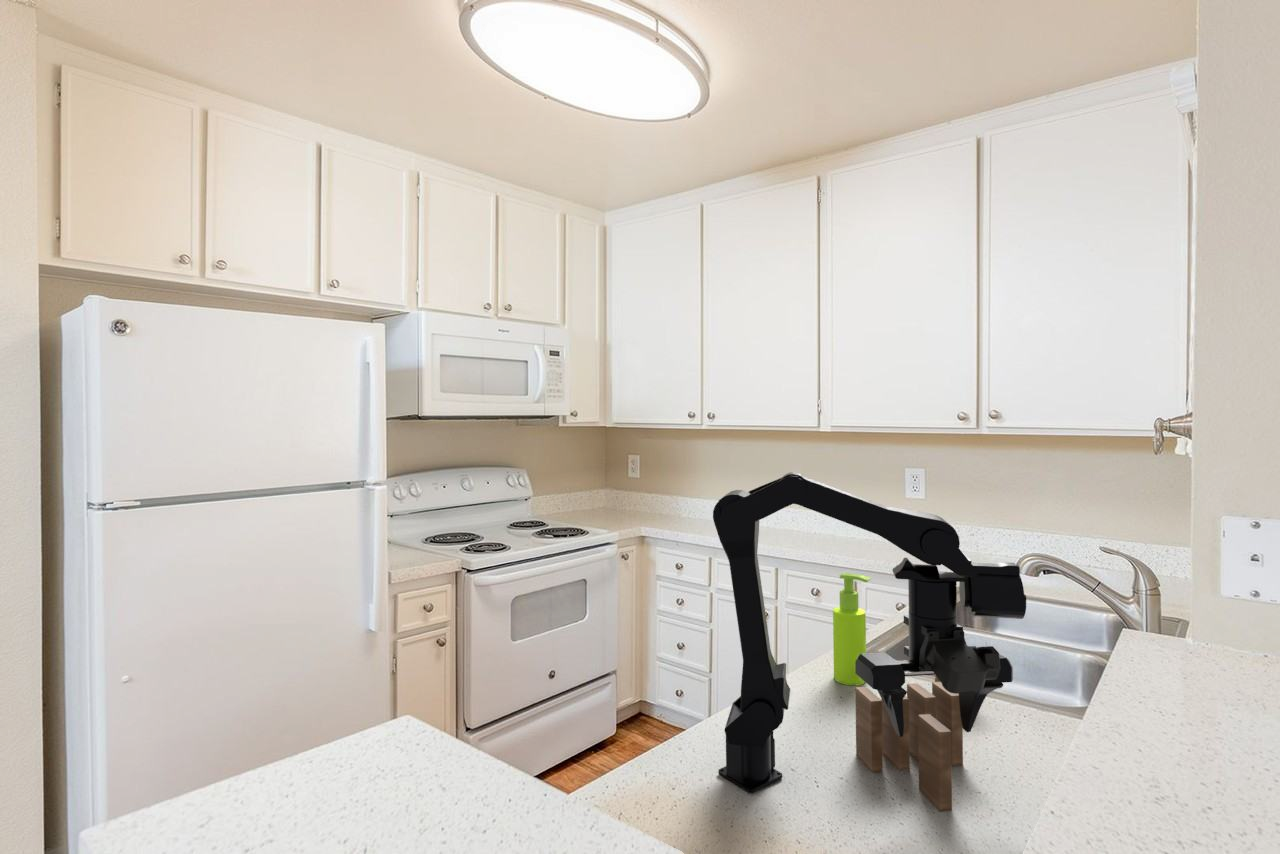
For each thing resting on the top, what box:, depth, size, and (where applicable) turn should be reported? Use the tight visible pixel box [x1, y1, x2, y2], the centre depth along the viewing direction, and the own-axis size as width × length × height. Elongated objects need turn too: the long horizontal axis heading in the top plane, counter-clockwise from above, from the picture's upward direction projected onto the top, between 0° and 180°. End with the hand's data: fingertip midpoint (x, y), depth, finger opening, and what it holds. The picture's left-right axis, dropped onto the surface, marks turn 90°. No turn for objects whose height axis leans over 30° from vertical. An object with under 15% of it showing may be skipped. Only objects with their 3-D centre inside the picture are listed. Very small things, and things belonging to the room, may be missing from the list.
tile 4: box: [931, 681, 964, 767], centre depth 97 cm, size 2×5×10 cm, turn 6°
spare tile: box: [918, 714, 953, 812], centre depth 86 cm, size 2×5×10 cm, turn 7°
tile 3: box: [906, 682, 936, 762], centre depth 97 cm, size 2×5×10 cm, turn 6°
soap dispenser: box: [832, 572, 872, 686], centre depth 126 cm, size 6×7×20 cm
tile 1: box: [854, 686, 884, 773], centre depth 96 cm, size 2×5×10 cm, turn 7°
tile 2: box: [880, 695, 911, 771], centre depth 96 cm, size 2×5×10 cm, turn 7°
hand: (933, 733), depth 86 cm, fingers open, 9 cm apart
